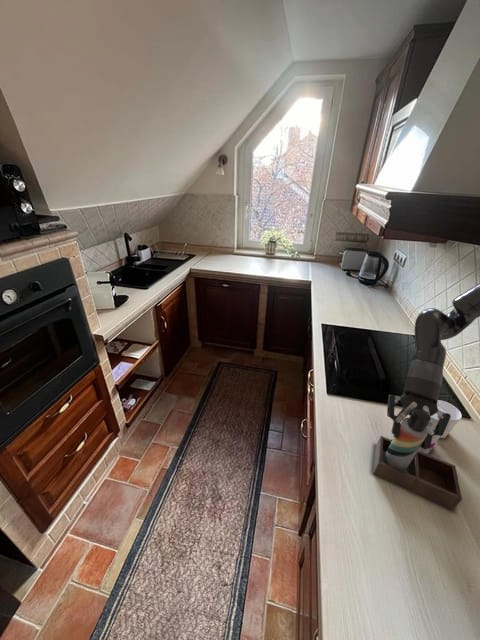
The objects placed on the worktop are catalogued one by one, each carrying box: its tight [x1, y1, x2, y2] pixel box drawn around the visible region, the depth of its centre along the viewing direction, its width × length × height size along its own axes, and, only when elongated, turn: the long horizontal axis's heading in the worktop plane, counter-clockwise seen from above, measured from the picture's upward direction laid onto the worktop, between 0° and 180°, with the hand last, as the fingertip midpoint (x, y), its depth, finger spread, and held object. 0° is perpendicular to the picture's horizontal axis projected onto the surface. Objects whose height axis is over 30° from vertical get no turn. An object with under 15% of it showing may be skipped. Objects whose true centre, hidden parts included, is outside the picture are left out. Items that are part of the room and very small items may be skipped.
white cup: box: [437, 399, 463, 439], centre depth 82 cm, size 8×8×10 cm
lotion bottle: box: [385, 409, 431, 471], centre depth 67 cm, size 6×6×20 cm
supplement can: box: [418, 404, 449, 454], centre depth 77 cm, size 8×8×15 cm
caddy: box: [372, 435, 463, 511], centre depth 70 cm, size 18×10×6 cm, turn 61°
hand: (409, 442), depth 65 cm, fingers closed on lotion bottle, 5 cm apart
